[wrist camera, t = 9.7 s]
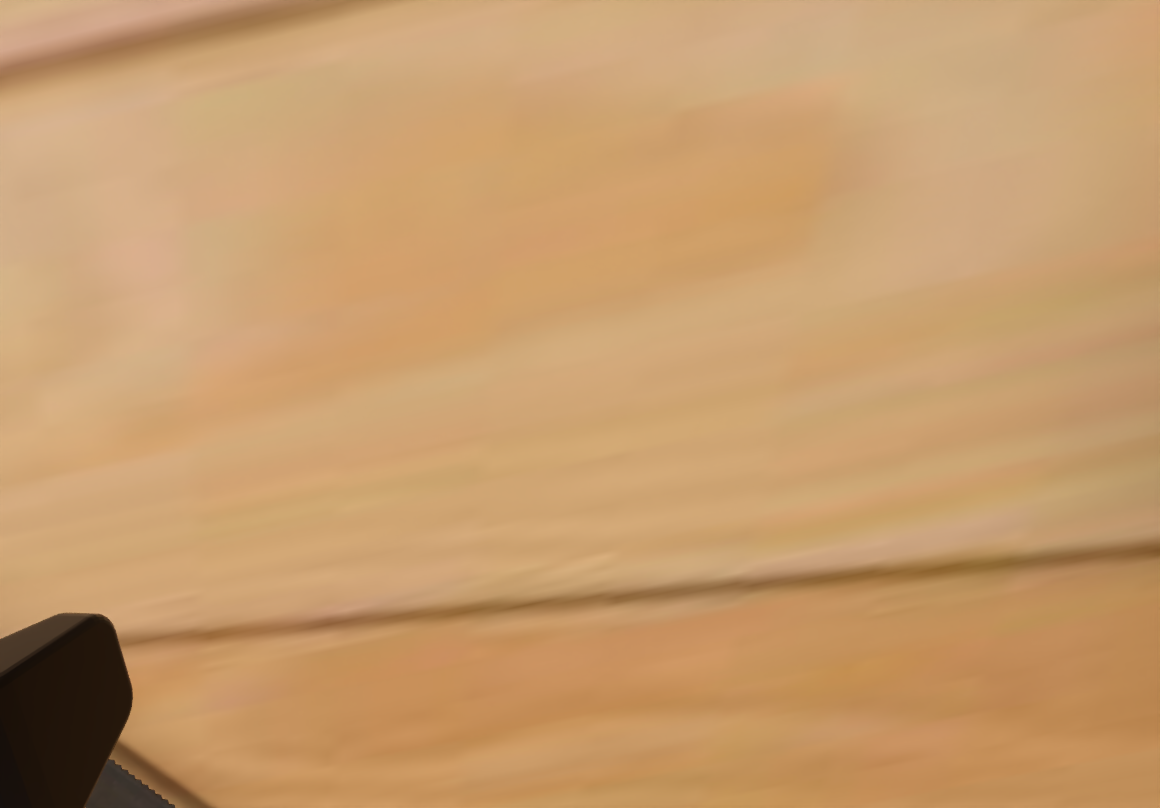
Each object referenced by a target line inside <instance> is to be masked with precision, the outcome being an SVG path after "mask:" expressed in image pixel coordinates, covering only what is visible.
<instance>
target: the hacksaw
mask: <svg viewBox="0 0 1160 808" xmlns="http://www.w3.org/2000/svg"><path fill="white" fill-rule="evenodd" d="M85 808H175V805H172V804H169V803H168V800H166V799H162V797H161V795H159V794H155V790H151V789H149V788H148V785H144V784H142V782H141V780H138V779H135V776H134V775H131V774H129V773H128V770H123V769H122V767H121V765H117V764H115V761H114V760H110V759H108V761H107V763H106V765H105V767H104V769H103V771H102V773H101V775H100V777H99V780H98V782H97V784H96V786H95V788H94V790H93V792H92V794H91V796H90V798H89V800H88V802H87V804H86V806H85Z"/></svg>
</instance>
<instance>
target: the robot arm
mask: <svg viewBox="0 0 1160 808" xmlns="http://www.w3.org/2000/svg"><path fill="white" fill-rule="evenodd" d="M132 700H133V692H132V685H131V682H130V678H129V675H128V671H127V668H126V665H125V661H124V658H123V654H122V651H121V648H120V644H119V641H118V637H117V634H116V630H115V628H114V625H113V624H112V622H111V621H110V620H109V619H108V618H107V617H105V616H103V615H101V614H89V613H62V614H57V615H54V616H52V617H50V618H48V619H45V620H43V621H41V622H38V623H36V624H34V625H31V626H29V627H27V628H25V629H22V630H20V631H18V632H15V633H13V634H11V635H9V636H6V637H4V638H2V639H0V808H85V806H86V804H87V802H88V800H89V798H90V796H91V794H92V792H93V790H94V788H95V786H96V784H97V782H98V780H99V777H100V775H101V773H102V771H103V769H104V767H105V765H106V763H107V761H108V759H109V757H110V755H111V753H112V751H113V749H114V747H115V745H116V743H117V741H118V738H119V736H120V734H121V732H122V730H123V728H124V726H125V724H126V722H127V720H128V717H129V715H130V711H131V707H132Z"/></svg>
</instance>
